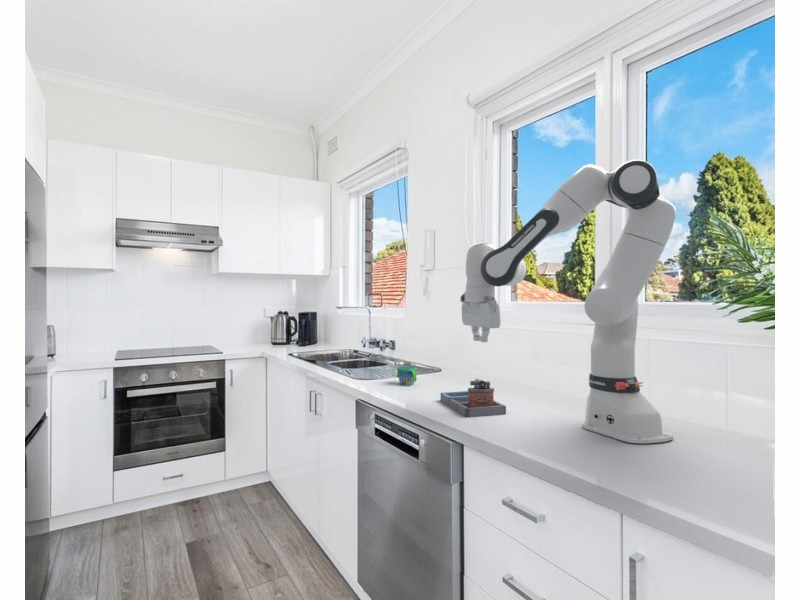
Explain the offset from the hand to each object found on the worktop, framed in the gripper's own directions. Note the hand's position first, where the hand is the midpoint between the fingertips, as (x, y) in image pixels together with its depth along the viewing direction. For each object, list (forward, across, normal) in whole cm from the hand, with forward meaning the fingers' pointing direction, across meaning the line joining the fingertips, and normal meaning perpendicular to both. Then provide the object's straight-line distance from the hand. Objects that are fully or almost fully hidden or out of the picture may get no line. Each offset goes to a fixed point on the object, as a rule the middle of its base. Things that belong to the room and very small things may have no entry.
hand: (480, 341), depth 140 cm
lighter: (+22, 0, 0) cm, 22 cm away
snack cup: (+22, +48, +10) cm, 54 cm away
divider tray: (+22, +7, 0) cm, 23 cm away
